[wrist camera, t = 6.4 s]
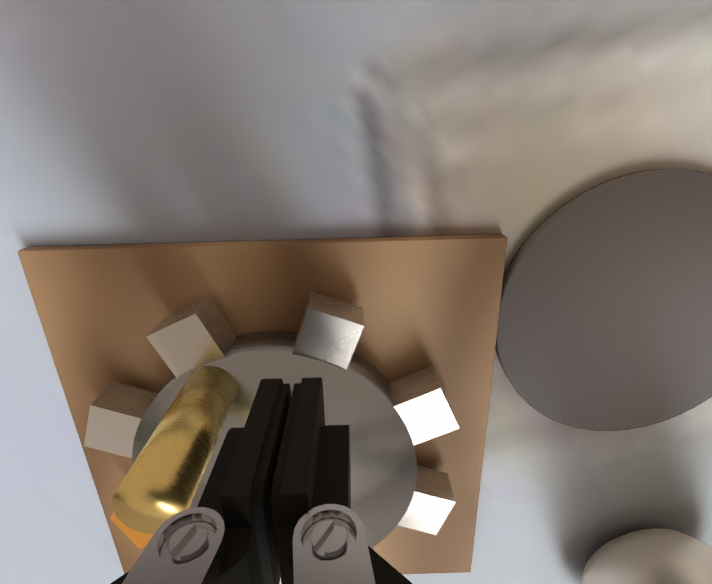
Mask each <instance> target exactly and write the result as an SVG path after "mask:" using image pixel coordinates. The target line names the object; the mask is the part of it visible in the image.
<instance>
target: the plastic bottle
mask: <svg viewBox="0 0 712 584" xmlns="http://www.w3.org/2000/svg"><path fill="white" fill-rule="evenodd" d="M582 584H712V547H711V546H710V545H708V544H707V543H705V542H702V541H700V540H698V539H695V538H693V537H691V536H688V535H686V534H684V533H681V532H678V531H675V530H670V529H645V530H639V531H635V532H631V533H628V534H625V535H622V536H620V537H617V538H616V539H614V540H612V541H610V542H608V543H606V544H605V545H604V546H602V547H601V548H599V549H598V550H597V551H596V552H595V553H594V554H593V555H592V556H591V558H590V559H589V560H588V562H587V563H586V566H585V568H584V570H583V579H582Z"/></svg>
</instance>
